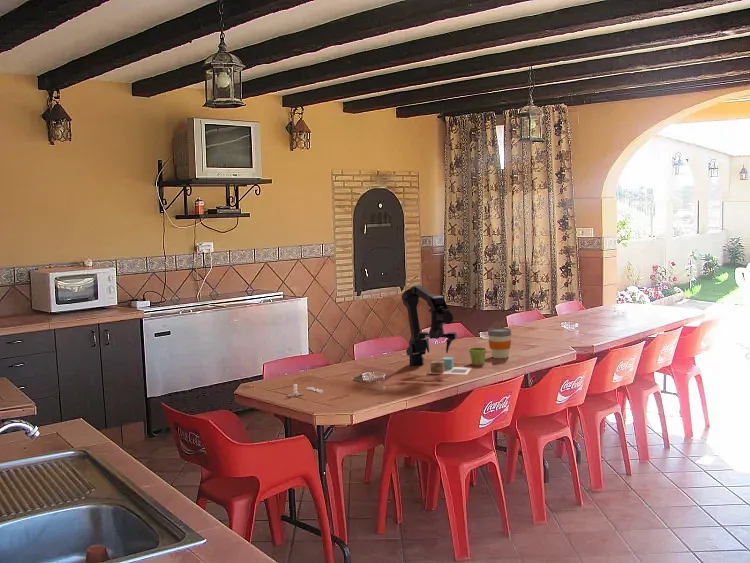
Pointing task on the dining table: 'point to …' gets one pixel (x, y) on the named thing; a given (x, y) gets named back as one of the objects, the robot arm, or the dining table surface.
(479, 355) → the plant pot
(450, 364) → the teal cube
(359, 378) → the game pieces
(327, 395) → the dining table surface
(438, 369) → the walnut block
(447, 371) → the board
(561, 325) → the dining table surface
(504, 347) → the reusable coffee cup
